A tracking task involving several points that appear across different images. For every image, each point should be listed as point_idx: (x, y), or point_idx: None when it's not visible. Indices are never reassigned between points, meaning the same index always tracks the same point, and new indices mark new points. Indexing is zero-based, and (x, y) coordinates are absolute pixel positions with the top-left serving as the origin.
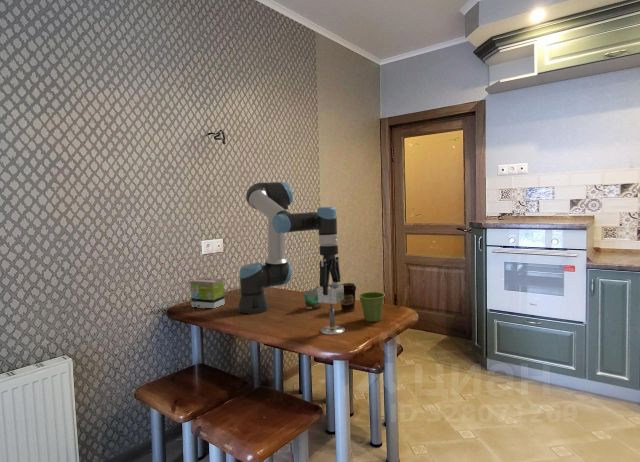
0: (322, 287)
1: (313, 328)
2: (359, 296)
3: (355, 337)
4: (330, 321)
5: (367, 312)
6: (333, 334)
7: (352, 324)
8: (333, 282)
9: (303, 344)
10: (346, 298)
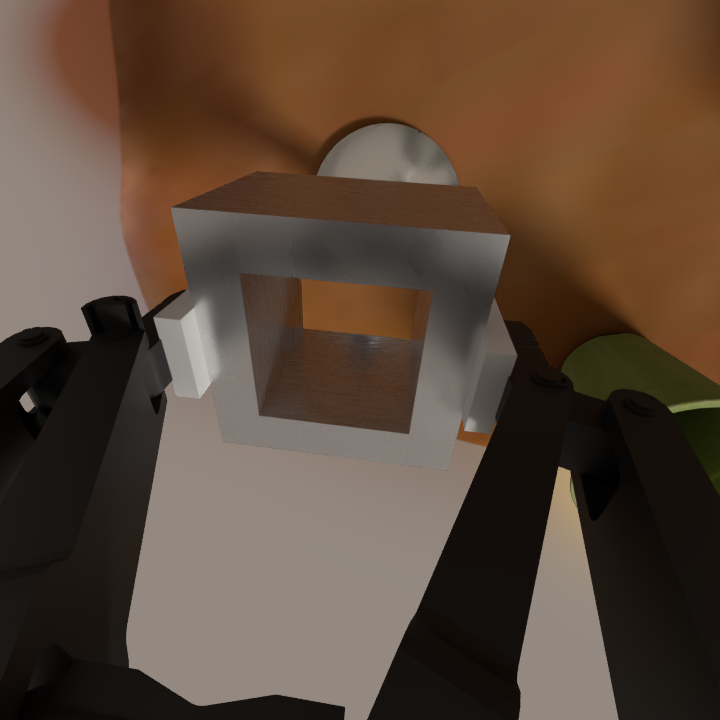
0: (226, 278)
1: (402, 39)
2: None
3: None
4: None
5: (575, 387)
6: None
7: (516, 287)
8: (480, 380)
9: (125, 124)
10: None
